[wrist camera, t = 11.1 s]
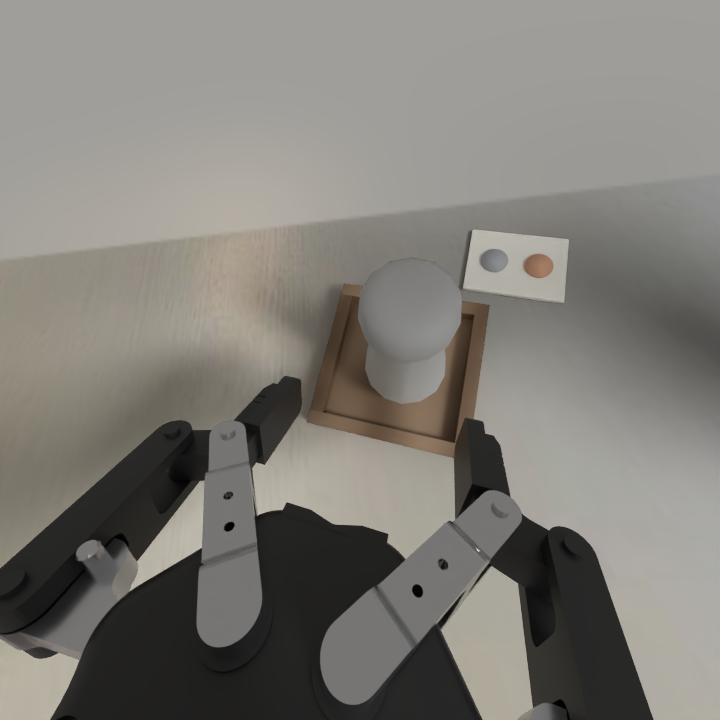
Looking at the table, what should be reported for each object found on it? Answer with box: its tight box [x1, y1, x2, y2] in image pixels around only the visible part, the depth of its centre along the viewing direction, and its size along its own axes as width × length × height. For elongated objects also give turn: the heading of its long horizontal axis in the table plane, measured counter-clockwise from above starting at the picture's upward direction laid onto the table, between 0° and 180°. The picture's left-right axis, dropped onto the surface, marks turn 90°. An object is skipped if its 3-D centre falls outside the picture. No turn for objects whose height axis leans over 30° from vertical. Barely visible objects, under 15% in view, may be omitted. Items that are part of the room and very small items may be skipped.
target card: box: [462, 229, 569, 304], centre depth 25 cm, size 8×6×1 cm
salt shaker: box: [358, 258, 462, 404], centre depth 17 cm, size 6×6×13 cm
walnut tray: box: [307, 284, 489, 458], centre depth 24 cm, size 12×12×2 cm
